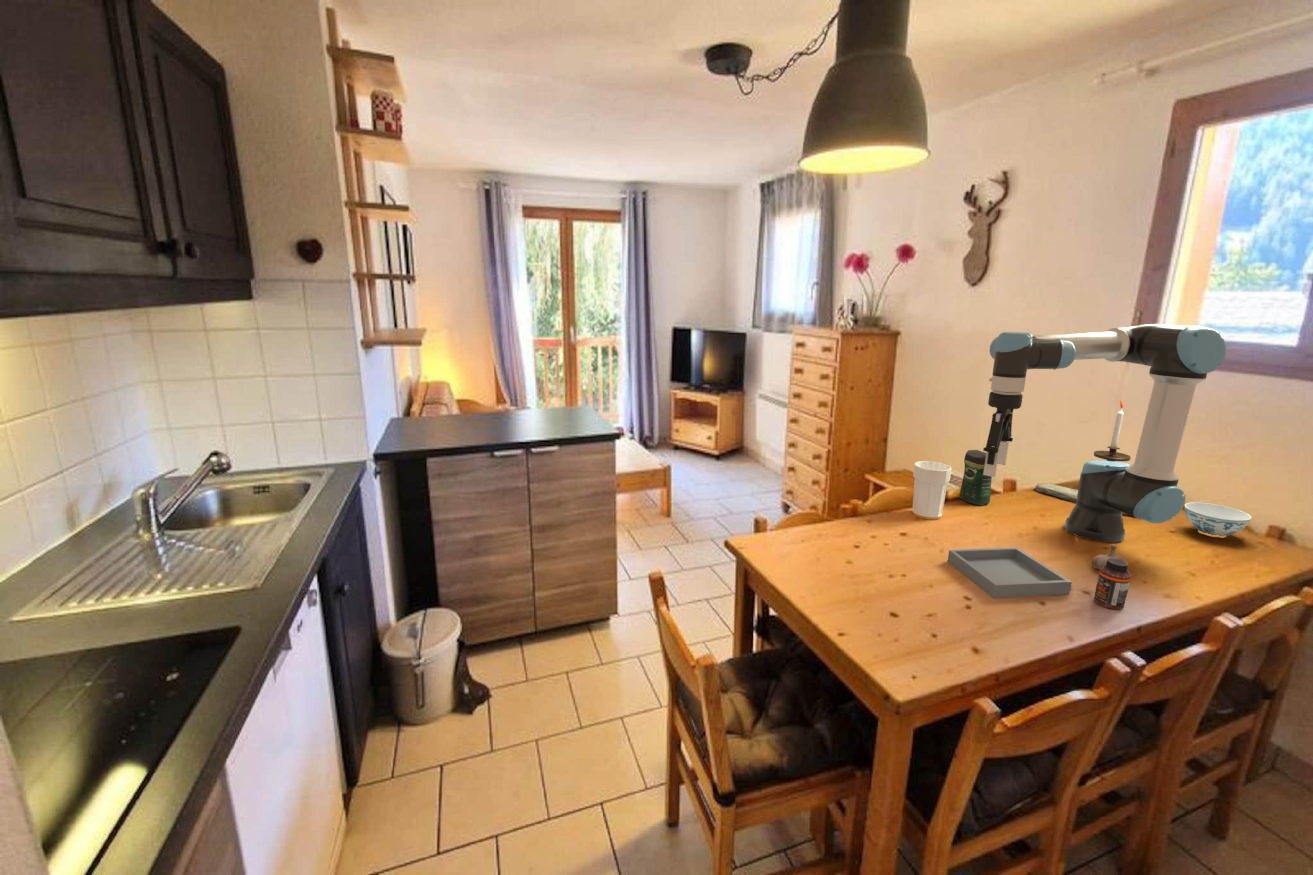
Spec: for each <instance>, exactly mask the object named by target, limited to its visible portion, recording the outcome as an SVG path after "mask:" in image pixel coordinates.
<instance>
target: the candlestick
mask: <svg viewBox="0 0 1313 875" xmlns="http://www.w3.org/2000/svg"><path fill="white" fill-rule="evenodd" d="M1119 403H1120V406H1119V408H1120V409H1119V411H1117V413H1116V416H1115V423H1114V428H1113V432H1112V438H1111V441H1110V442H1111V443H1110V446H1108V445H1107V446H1106V448H1108V449H1109V450H1094V452H1093V456H1094V457H1096V458H1099V459H1102V460H1105V461H1114V462H1129V461H1131V458H1132V457H1131V456H1130V455H1128V454H1126V453H1123V452H1118V451H1117V450H1120V449H1121V448H1120V447H1118V443H1119V438H1120V432H1121V428H1122V424H1123V419H1124V412H1123V408H1124V404H1123V402H1122V400H1120V401H1119Z"/></svg>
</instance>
